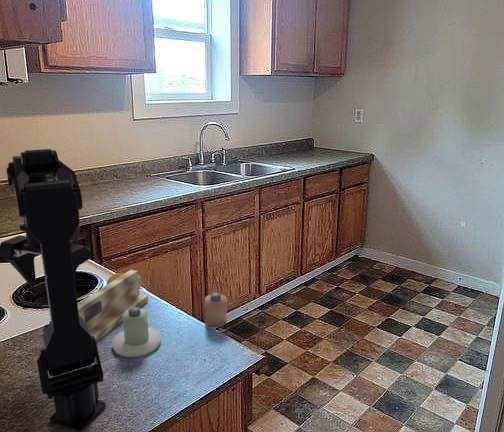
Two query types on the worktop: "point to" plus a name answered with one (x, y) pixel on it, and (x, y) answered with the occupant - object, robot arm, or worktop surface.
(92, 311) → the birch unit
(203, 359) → the worktop surface
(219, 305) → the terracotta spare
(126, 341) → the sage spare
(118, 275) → the bread roll
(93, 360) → the robot arm
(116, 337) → the ceramic plate
